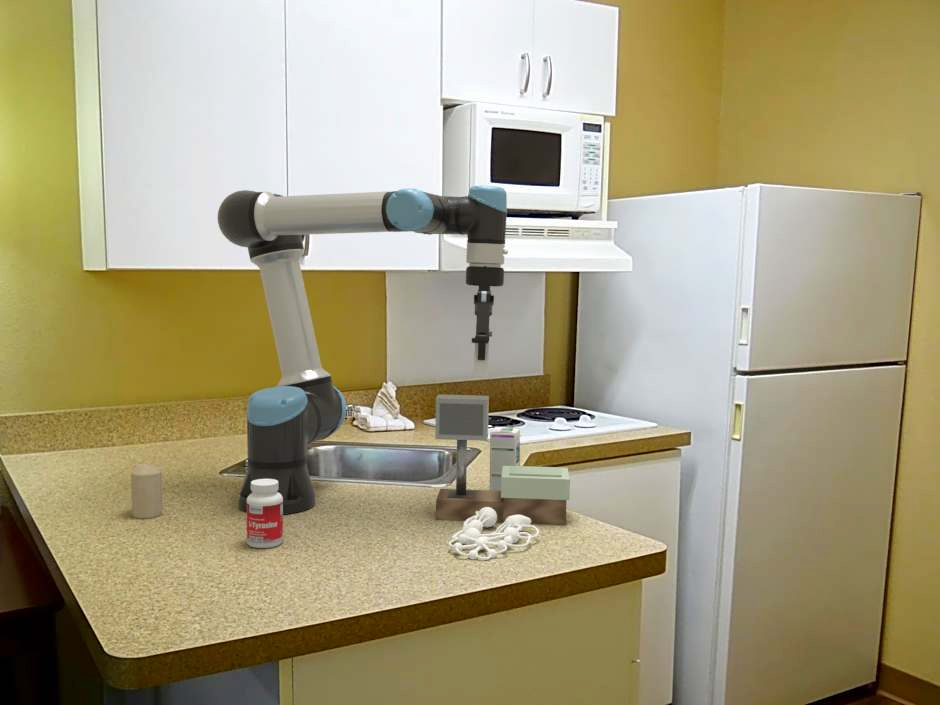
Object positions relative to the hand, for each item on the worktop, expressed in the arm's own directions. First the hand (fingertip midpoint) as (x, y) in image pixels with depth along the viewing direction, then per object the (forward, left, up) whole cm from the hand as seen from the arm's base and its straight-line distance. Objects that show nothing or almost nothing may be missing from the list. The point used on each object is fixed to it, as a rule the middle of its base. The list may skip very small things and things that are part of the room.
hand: (480, 372), depth 168 cm
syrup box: (+5, +10, -28) cm, 30 cm away
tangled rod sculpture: (+4, -21, -28) cm, 36 cm away
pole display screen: (-3, -5, -24) cm, 24 cm away
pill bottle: (-36, -27, -28) cm, 53 cm away
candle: (-63, -13, -28) cm, 71 cm away
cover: (+11, -5, -23) cm, 26 cm away
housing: (+5, -5, -28) cm, 29 cm away
